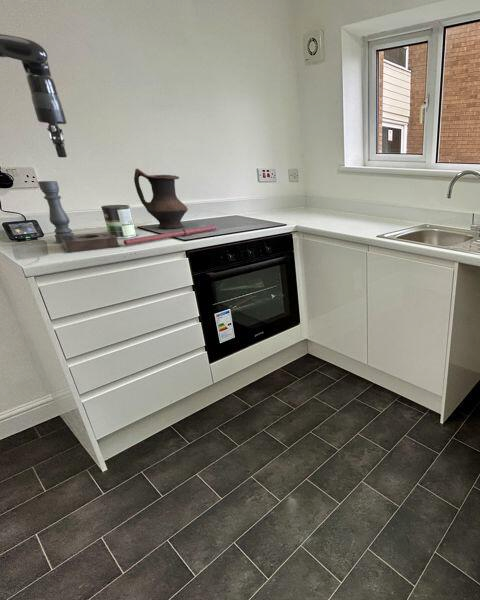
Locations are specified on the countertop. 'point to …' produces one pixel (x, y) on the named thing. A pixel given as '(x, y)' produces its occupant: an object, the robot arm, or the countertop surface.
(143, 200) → the jug
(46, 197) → the candle holder
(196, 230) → the red rod
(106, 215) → the coffee can
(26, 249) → the countertop surface
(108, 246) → the stand
